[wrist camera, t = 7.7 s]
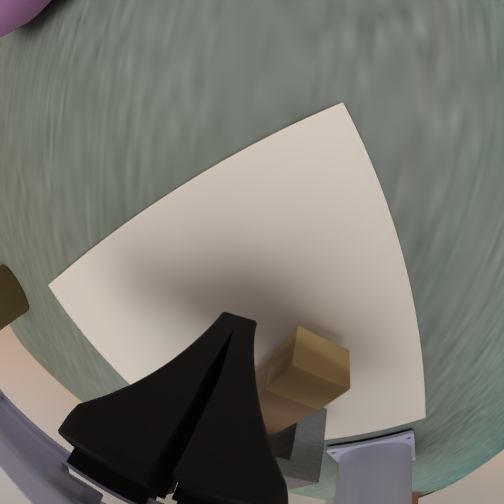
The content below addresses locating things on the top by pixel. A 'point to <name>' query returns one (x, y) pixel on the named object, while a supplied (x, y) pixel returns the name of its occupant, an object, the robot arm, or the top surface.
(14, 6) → the teapot
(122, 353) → the board
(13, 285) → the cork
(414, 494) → the canned food
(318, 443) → the keeper
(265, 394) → the link
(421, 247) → the top surface
